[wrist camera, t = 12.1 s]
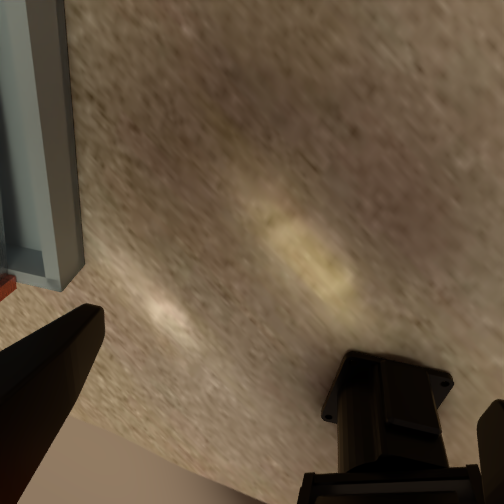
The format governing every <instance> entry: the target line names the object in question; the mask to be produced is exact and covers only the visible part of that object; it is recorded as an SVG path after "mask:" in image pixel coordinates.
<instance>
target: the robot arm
mask: <svg viewBox="0 0 504 504" xmlns="http://www.w3.org/2000/svg"><path fill="white" fill-rule="evenodd" d="M104 336H105V319H104V309H103V308H102V307H101V306H97V305H93V304H89V303H85V304H82V305H81V306H79V307H77V308H75V309H74V310H72V311H70V312H68V313H67V314H65V315H63V316H61V317H60V318H58V319H56V320H54V321H53V322H51V323H49V324H47V325H46V326H44V327H42V328H40V329H39V330H37V331H35V332H33V333H32V334H30V335H28V336H26V337H25V338H23V339H21V340H19V341H18V342H16V343H14V344H12V345H11V346H9V347H7V348H5V349H4V350H2V351H0V504H17V502H18V501H19V499H20V497H21V495H22V494H23V492H24V490H25V488H26V487H27V485H28V483H29V482H30V480H31V478H32V476H33V475H34V473H35V471H36V470H37V468H38V466H39V465H40V463H41V461H42V459H43V458H44V456H45V454H46V453H47V451H48V449H49V447H50V446H51V444H52V442H53V440H54V439H55V437H56V435H57V434H58V432H59V430H60V428H61V427H62V425H63V423H64V422H65V420H66V418H67V417H68V415H69V413H70V411H71V410H72V408H73V406H74V404H75V402H76V401H77V399H78V396H79V394H80V392H81V390H82V388H83V385H84V383H85V381H86V379H87V376H88V374H89V372H90V370H91V367H92V365H93V363H94V361H95V358H96V356H97V354H98V352H99V349H100V347H101V345H102V343H103V340H104ZM352 360H354V361H352ZM443 381H444V382H443ZM453 386H454V382H453V378H452V376H451V375H450V374H448V373H444V372H440V371H435V370H431V369H427V368H422V367H418V366H414V365H409V364H405V363H401V362H396V361H392V360H388V359H383V358H379V357H375V356H370V355H366V354H362V353H357V352H348V353H347V354H346V355H345V356H344V358H343V361H342V363H341V365H340V368H339V370H338V373H337V375H336V377H335V380H334V382H333V384H332V387H331V389H330V391H329V394H328V396H327V399H326V401H325V403H324V406H323V408H322V411H321V418H322V419H323V420H324V421H327V422H331V423H335V424H337V429H338V473H328V474H315V472H311V473H305V474H304V478H303V483H302V487H301V488H300V491H299V496H298V501H297V504H504V400H501V399H497V400H495V401H493V402H492V403H491V405H490V406H489V407H488V409H487V410H486V411H485V412H484V414H483V415H482V416H481V417H480V419H479V421H478V423H477V438H478V448H479V458H480V467H481V473H480V470H479V467H478V465H477V464H470V465H466V467H451V468H450V467H449V463H448V459H447V455H446V451H445V446H444V442H443V438H442V434H441V433H442V429H441V425H440V421H439V416H438V412H437V409H438V408H439V406H440V405H441V403H442V402H443V400H444V399H445V398H446V396H447V395H448V393H449V392H450V390H451V389H452V387H453Z"/></svg>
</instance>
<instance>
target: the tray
mask: <svg viewBox="0 0 504 504" xmlns="http://www.w3.org/2000/svg"><path fill="white" fill-rule="evenodd" d="M0 191H1V201H2V212H3V223H4V233H5V244H6V254H7V265H8V274H9V275H14V276H16V282H19V283H23V284H27V285H32V286H36V287H40V288H45V289H49V290H53V291H58V292H62V291H63V290H64V289H65V288H66V287H67V285H68V284H69V283H70V282H71V281H72V279H73V278H74V277H75V276H76V275H77V273H78V272H79V271H80V270H81V269H82V267H83V266H84V265H85V263H84V251H83V238H82V226H81V213H80V201H79V188H78V176H77V163H76V151H75V138H74V126H73V113H72V101H71V88H70V76H69V63H68V51H67V38H66V26H65V13H64V1H63V0H0Z"/></svg>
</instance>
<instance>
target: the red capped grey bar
mask: <svg viewBox="0 0 504 504" xmlns="http://www.w3.org/2000/svg"><path fill="white" fill-rule="evenodd" d="M15 289H17V288H16V276H14V275H9V274H8V265H7V254H6V244H5V233H4V223H3V212H2V201H1V191H0V302H1V301H2V300H3V299H4V298H5V297H7V296H8V295H9V294H10V293H12V292H13V291H14V290H15Z"/></svg>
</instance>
